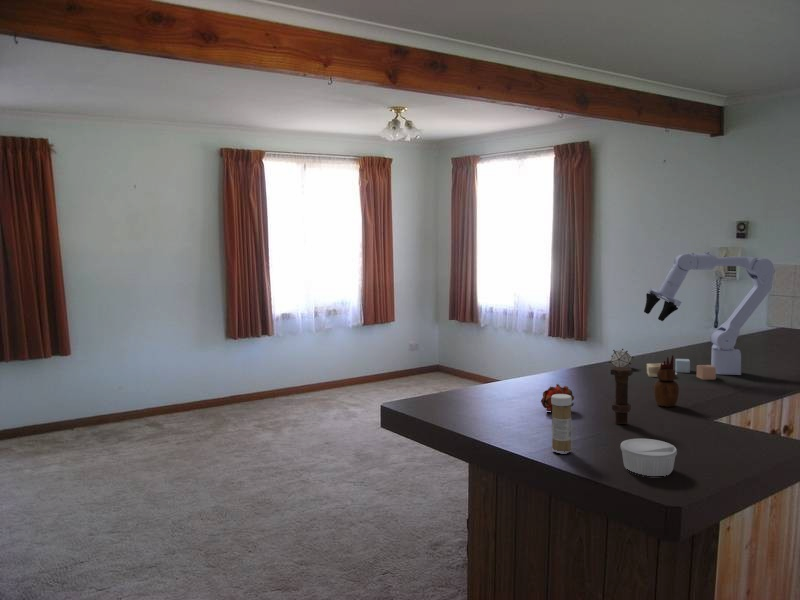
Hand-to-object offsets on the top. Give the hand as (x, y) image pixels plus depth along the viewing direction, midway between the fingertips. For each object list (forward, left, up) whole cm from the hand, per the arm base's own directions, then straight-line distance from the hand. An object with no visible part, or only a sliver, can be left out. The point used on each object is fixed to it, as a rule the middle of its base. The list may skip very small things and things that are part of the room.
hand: (653, 316), depth 231 cm
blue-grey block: (-10, +1, -21) cm, 23 cm away
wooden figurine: (+2, +51, -21) cm, 55 cm away
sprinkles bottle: (+31, +100, -21) cm, 107 cm away
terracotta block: (-16, +12, -21) cm, 29 cm away
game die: (+11, -2, -21) cm, 24 cm away
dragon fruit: (+33, +64, -21) cm, 75 cm away
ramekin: (+13, +108, -21) cm, 111 cm away
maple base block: (-1, +9, -20) cm, 22 cm away
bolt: (+16, +73, -21) cm, 78 cm away
